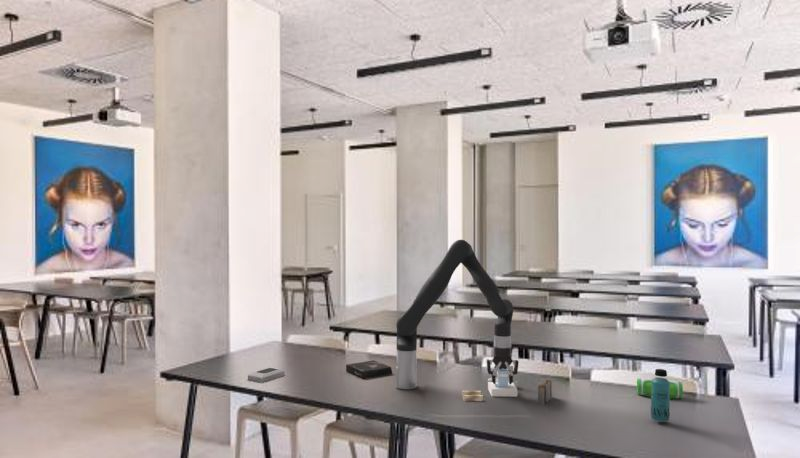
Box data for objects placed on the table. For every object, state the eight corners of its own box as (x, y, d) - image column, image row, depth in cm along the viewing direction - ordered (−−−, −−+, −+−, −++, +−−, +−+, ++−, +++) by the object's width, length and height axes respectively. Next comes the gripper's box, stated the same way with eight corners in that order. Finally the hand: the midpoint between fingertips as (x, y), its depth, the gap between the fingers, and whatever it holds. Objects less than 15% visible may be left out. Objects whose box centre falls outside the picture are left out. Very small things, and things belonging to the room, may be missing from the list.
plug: (498, 393, 243) (498, 370, 243) (497, 391, 248) (497, 368, 248) (508, 393, 243) (508, 370, 243) (506, 391, 247) (506, 368, 247)
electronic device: (491, 361, 267) (519, 366, 257) (491, 382, 267) (520, 387, 257) (485, 363, 263) (513, 368, 253) (485, 384, 263) (514, 390, 253)
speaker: (680, 396, 244) (680, 379, 244) (683, 401, 238) (683, 383, 237) (636, 392, 250) (636, 375, 250) (638, 397, 243) (638, 379, 243)
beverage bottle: (647, 419, 214) (647, 367, 214) (664, 419, 215) (664, 367, 215) (656, 425, 208) (656, 372, 208) (673, 425, 209) (674, 371, 208)
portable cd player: (392, 374, 280) (392, 366, 280) (362, 380, 270) (362, 371, 270) (374, 367, 293) (374, 360, 293) (346, 372, 284) (346, 364, 284)
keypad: (247, 372, 268) (270, 366, 281) (247, 380, 268) (270, 373, 281) (262, 375, 263) (284, 368, 276) (262, 383, 263) (284, 376, 276)
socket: (491, 398, 240) (491, 389, 240) (487, 390, 251) (488, 382, 251) (517, 398, 240) (517, 389, 240) (512, 391, 251) (512, 382, 251)
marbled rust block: (545, 405, 232) (545, 382, 232) (538, 404, 234) (538, 381, 234) (552, 398, 242) (552, 375, 242) (545, 397, 244) (545, 374, 244)
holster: (463, 403, 234) (463, 396, 234) (461, 397, 242) (461, 390, 242) (482, 403, 234) (482, 396, 234) (480, 397, 242) (480, 390, 242)
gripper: (487, 347, 242) (487, 386, 242) (520, 347, 241) (520, 386, 242) (484, 343, 249) (484, 381, 249) (517, 343, 249) (517, 381, 249)
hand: (502, 383), depth 245 cm, fingers open, 6 cm apart
